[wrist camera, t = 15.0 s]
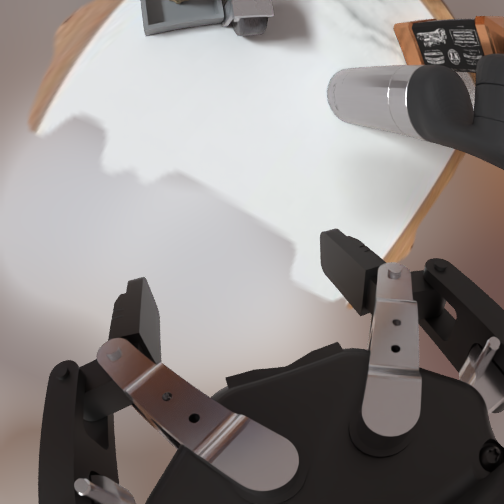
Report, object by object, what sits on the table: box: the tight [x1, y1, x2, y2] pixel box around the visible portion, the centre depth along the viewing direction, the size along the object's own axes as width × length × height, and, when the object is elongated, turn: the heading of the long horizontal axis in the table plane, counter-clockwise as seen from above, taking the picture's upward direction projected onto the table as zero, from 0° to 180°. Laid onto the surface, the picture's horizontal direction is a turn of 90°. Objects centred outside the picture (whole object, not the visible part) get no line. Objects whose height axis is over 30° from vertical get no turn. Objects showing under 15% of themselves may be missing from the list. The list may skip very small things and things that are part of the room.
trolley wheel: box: [222, 0, 274, 36], centre depth 26 cm, size 5×9×10 cm, turn 8°
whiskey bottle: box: [394, 16, 504, 73], centre depth 23 cm, size 10×10×32 cm
